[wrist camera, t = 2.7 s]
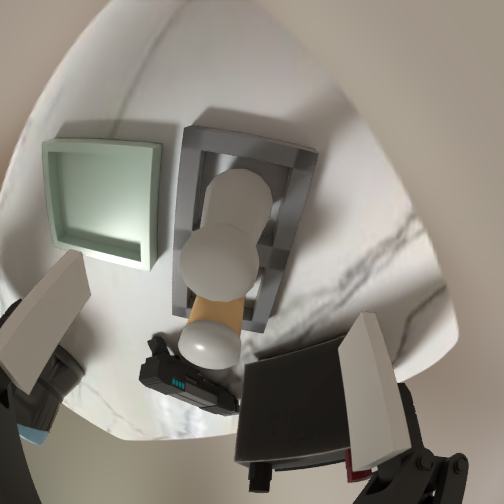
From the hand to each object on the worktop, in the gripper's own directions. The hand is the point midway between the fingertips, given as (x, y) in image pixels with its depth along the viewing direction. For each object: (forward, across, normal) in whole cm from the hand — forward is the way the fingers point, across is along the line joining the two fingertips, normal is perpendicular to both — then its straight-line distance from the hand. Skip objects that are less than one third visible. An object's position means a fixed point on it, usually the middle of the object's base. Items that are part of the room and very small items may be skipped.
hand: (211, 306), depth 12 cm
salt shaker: (+15, 0, 0) cm, 15 cm away
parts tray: (+15, -15, -3) cm, 22 cm away
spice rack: (+15, 0, -5) cm, 16 cm away
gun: (+15, -2, -31) cm, 35 cm away
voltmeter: (+15, +16, -25) cm, 33 cm away
